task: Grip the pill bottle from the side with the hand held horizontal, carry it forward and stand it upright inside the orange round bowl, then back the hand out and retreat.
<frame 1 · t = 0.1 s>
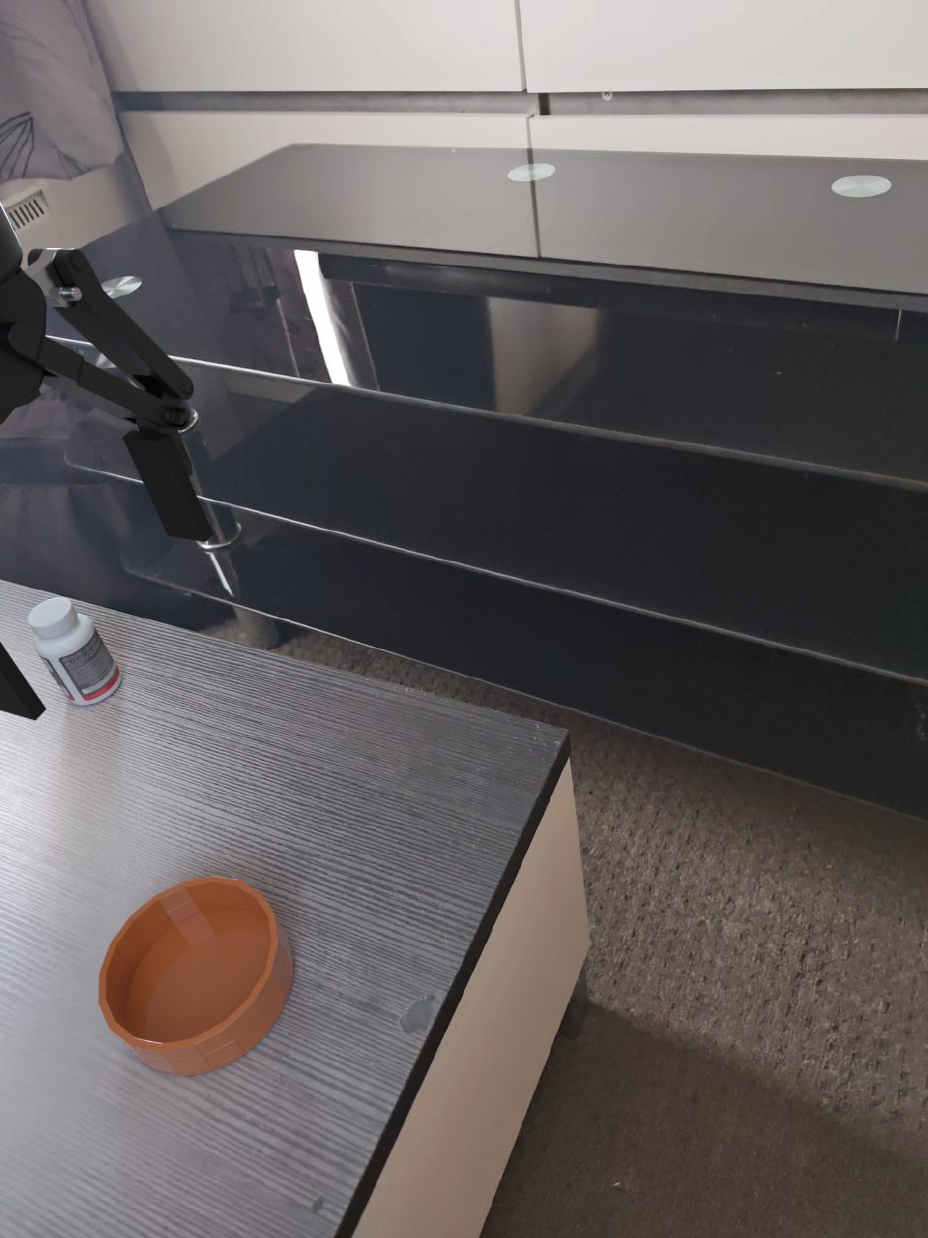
hand: (113, 614, 48), 29 cm above the table, tool pointing down, fingers open, 13 cm apart
orange round bowl: (209, 985, 63), on the table
pill bottle: (96, 687, 88), on the table
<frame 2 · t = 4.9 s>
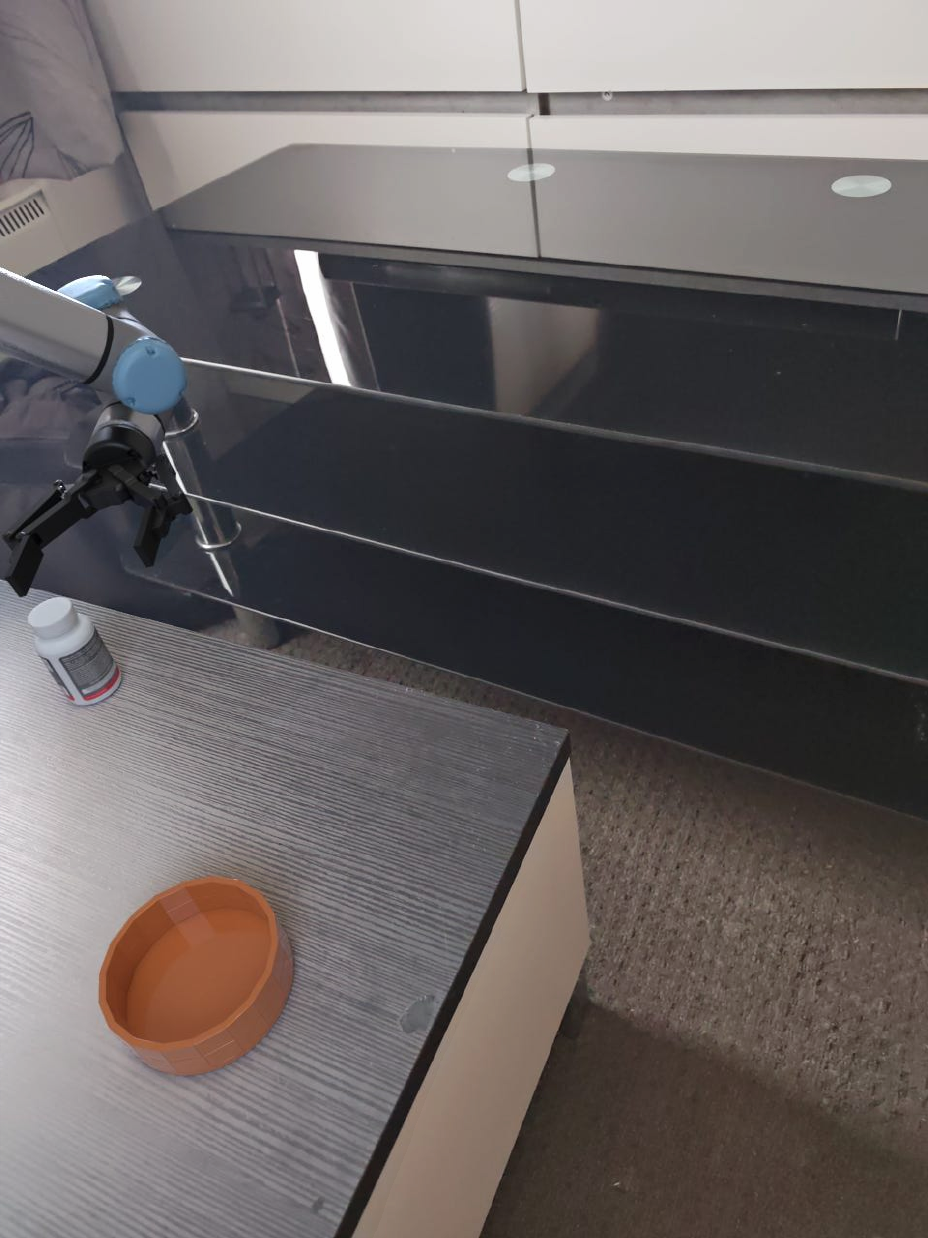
hand: (78, 572, 90), 7 cm above the table, tool horizontal, fingers open, 13 cm apart
nothing on the table moved.
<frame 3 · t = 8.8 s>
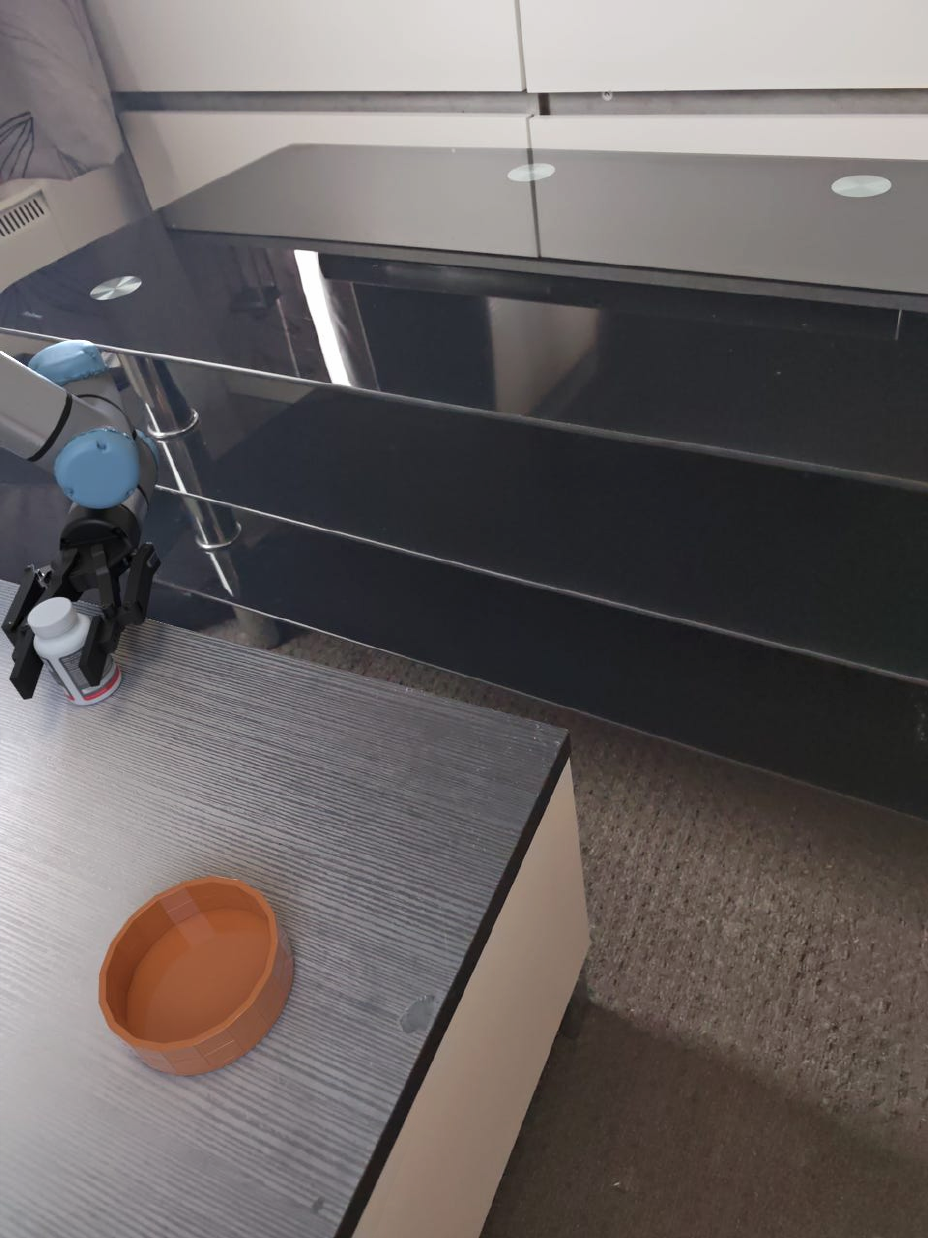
hand: (54, 682, 80), 6 cm above the table, tool horizontal, fingers closed on pill bottle, 5 cm apart
pill bottle: (96, 687, 88), on the table, touching gripper
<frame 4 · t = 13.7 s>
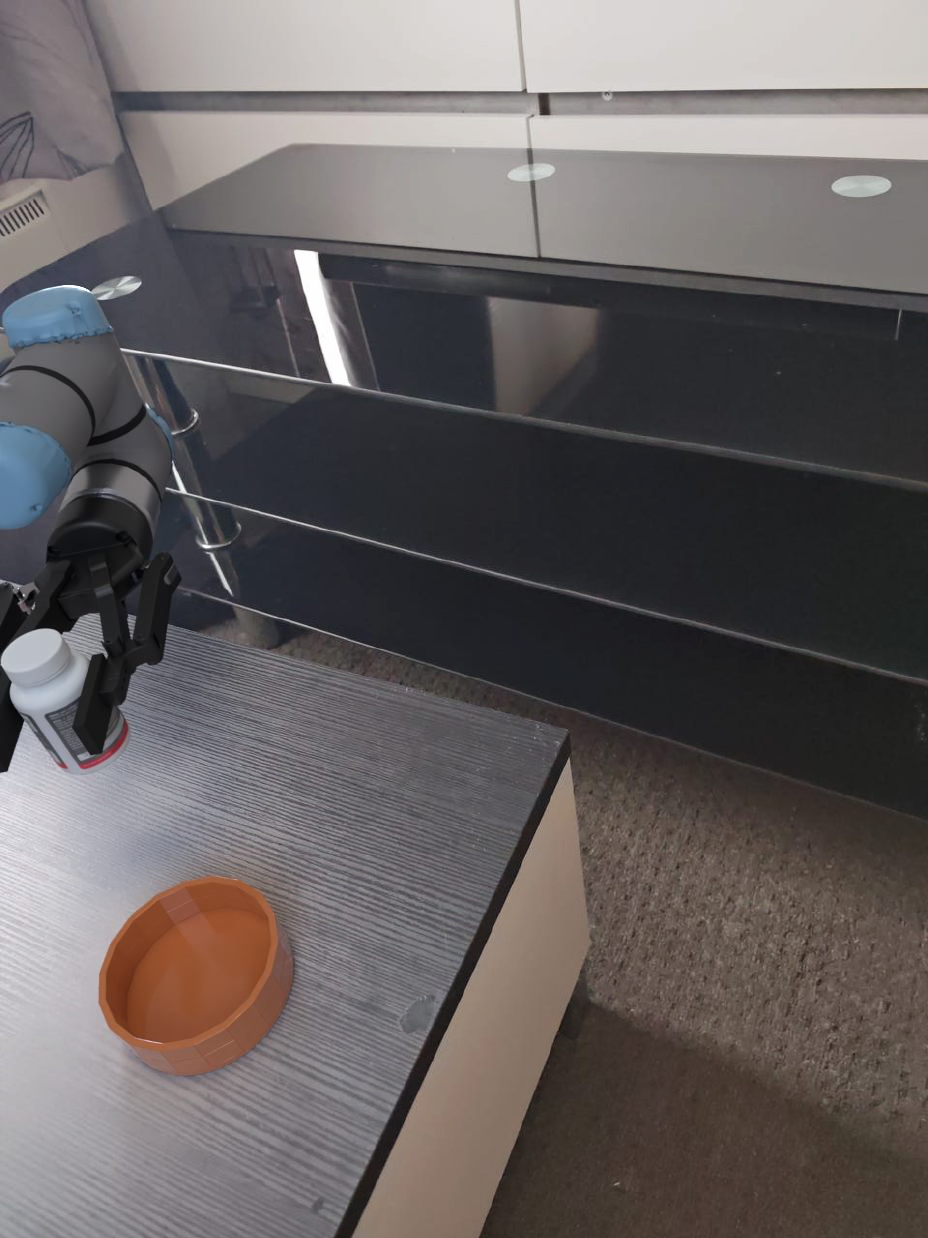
hand: (39, 749, 57), 18 cm above the table, tool horizontal, fingers closed on pill bottle, 5 cm apart
pill bottle: (96, 749, 65), point 12 cm above the table, touching gripper
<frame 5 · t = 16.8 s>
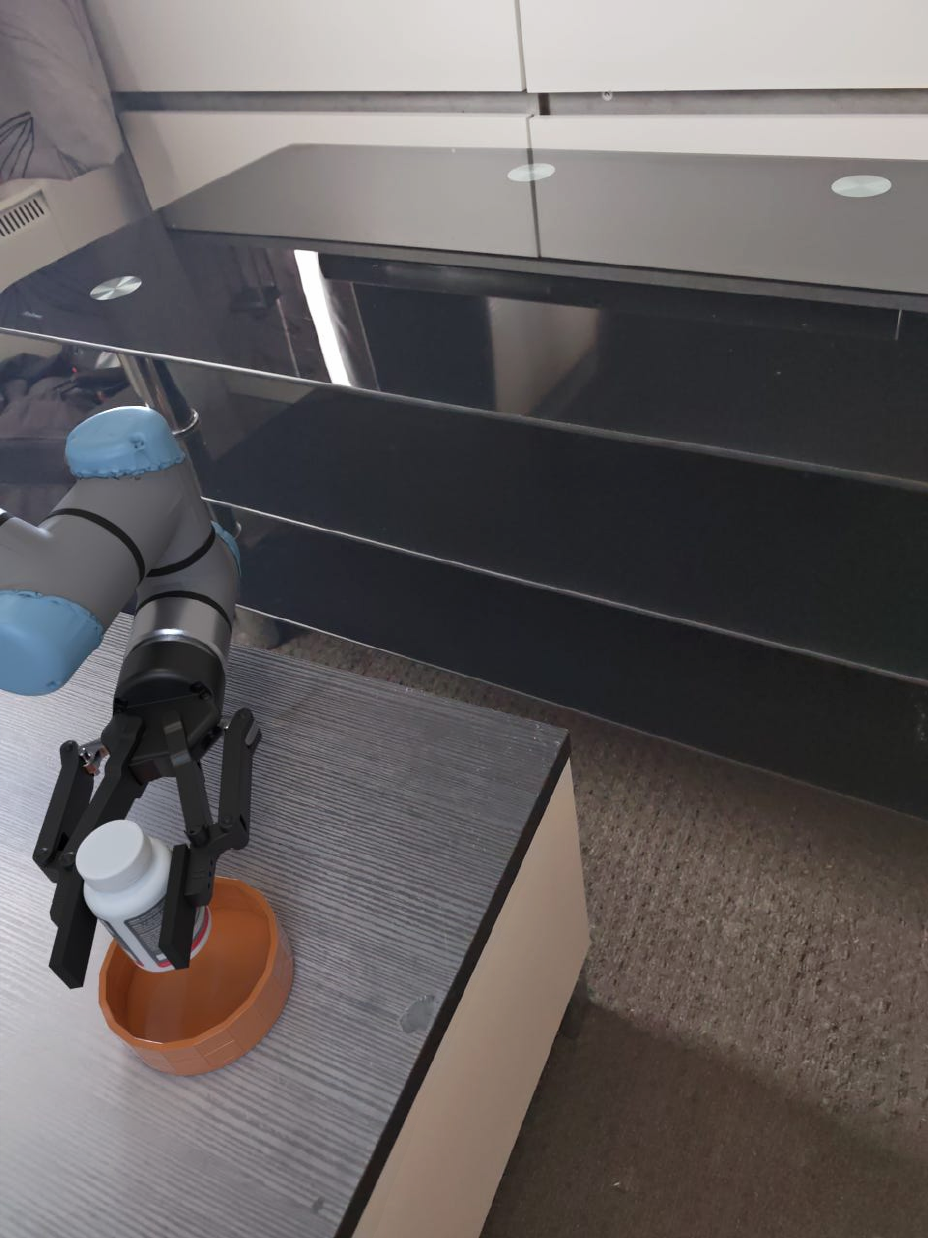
hand: (120, 966, 51), 13 cm above the table, tool horizontal, fingers closed on pill bottle, 5 cm apart
pill bottle: (173, 936, 59), point 7 cm above the table, touching gripper
when the fingers open (7 cm above the table, at t = 18.9 s): pill bottle stays where it is, resting on orange round bowl.
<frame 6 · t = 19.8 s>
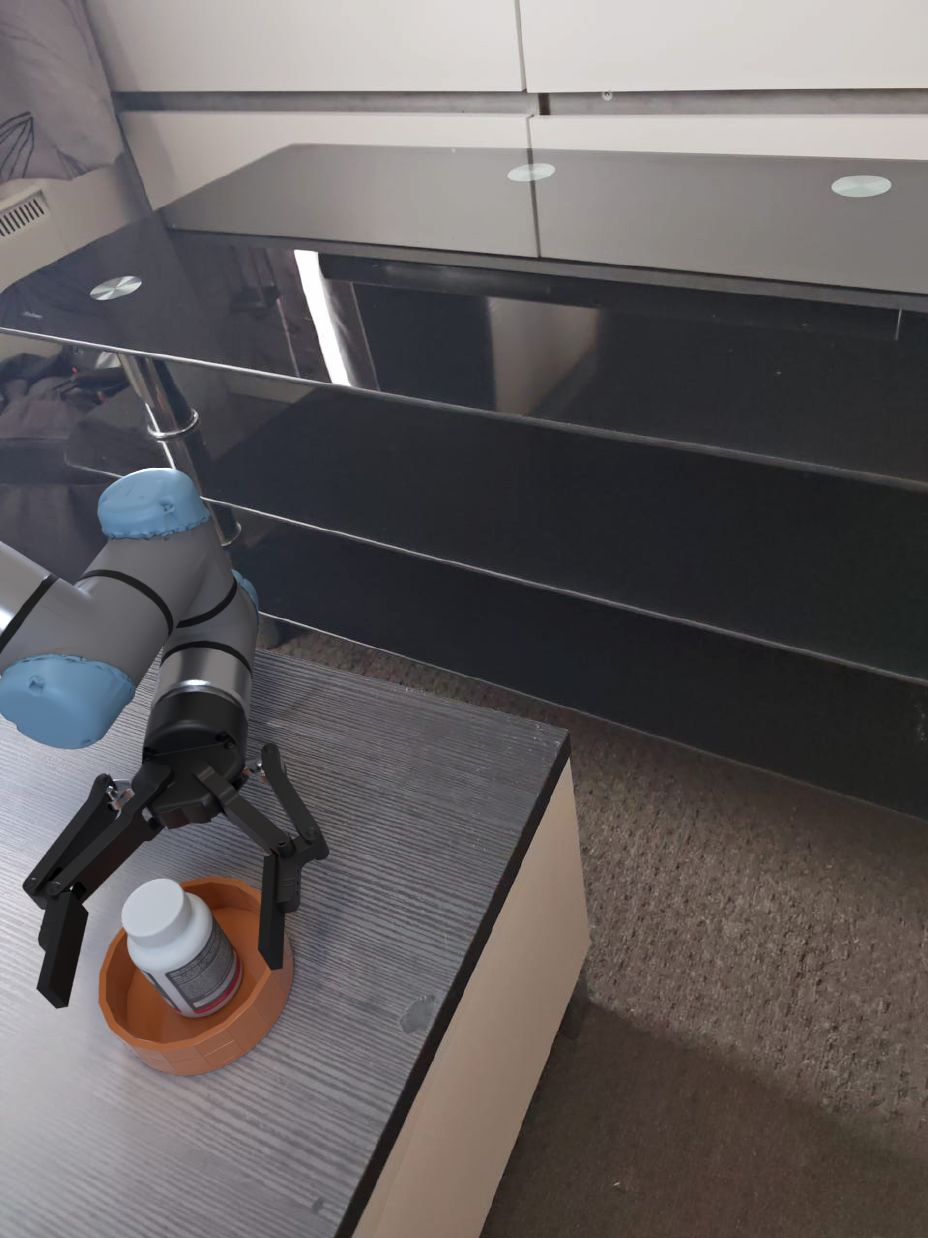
hand: (160, 979, 56), 8 cm above the table, tool horizontal, fingers open, 13 cm apart
pill bottle: (207, 982, 63), resting on orange round bowl
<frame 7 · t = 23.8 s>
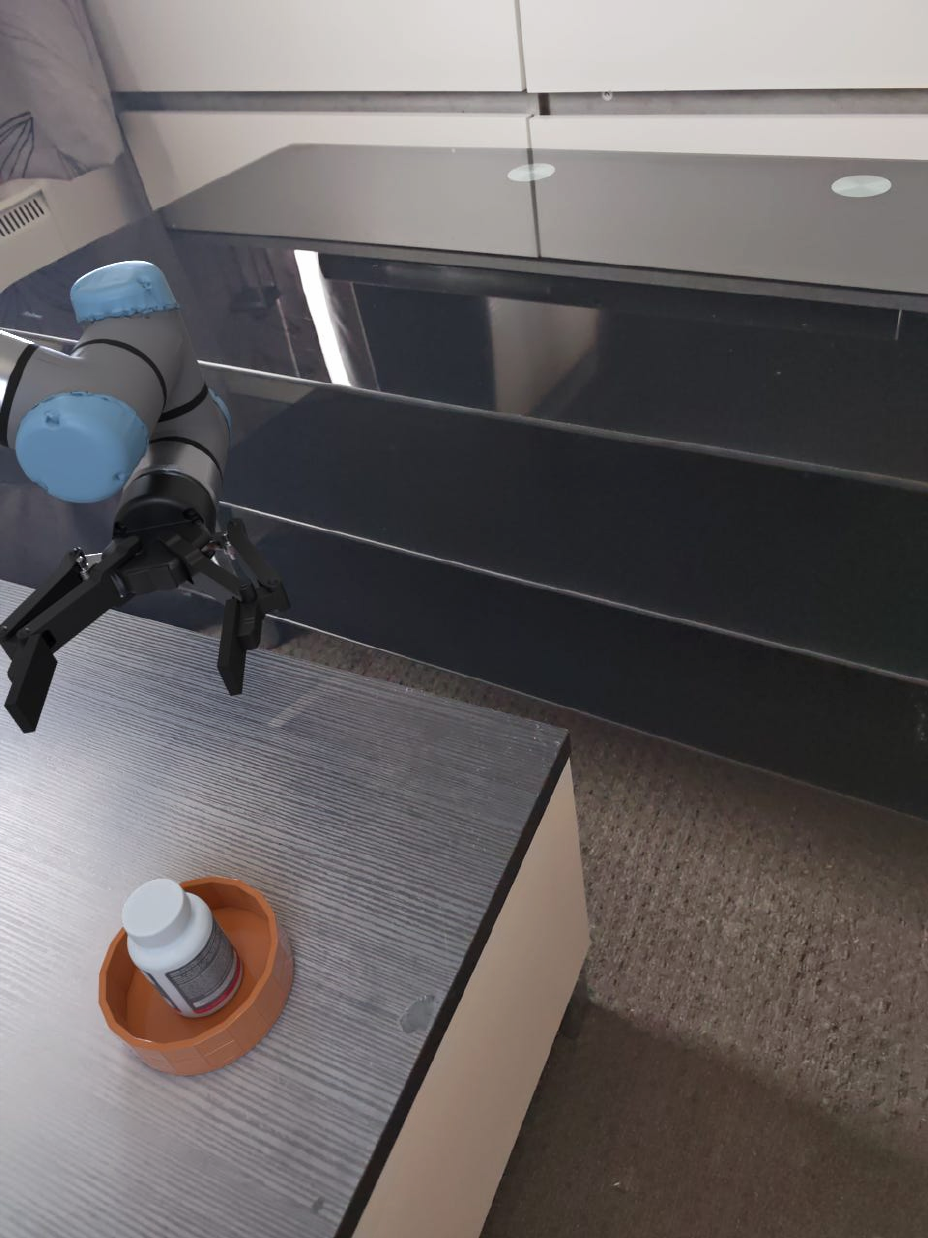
hand: (124, 700, 58), 19 cm above the table, tool horizontal, fingers open, 13 cm apart
nothing on the table moved.
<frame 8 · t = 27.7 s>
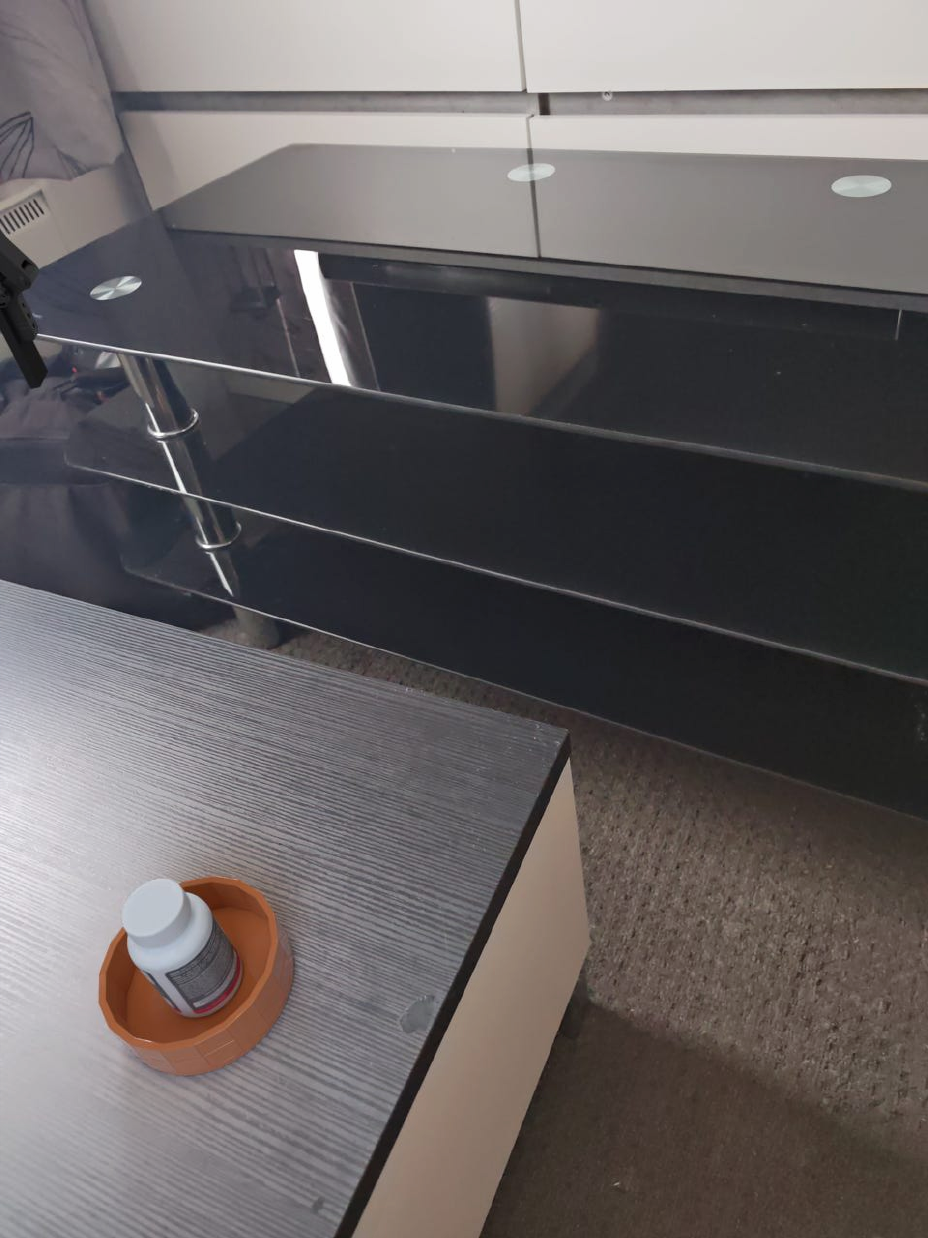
nothing on the table moved.
at the end: pill bottle 0.0 cm off-centre in the orange round bowl, point 0.4 cm above the orange round bowl's base; pill bottle tilted 0°; the gripper is holding nothing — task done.
